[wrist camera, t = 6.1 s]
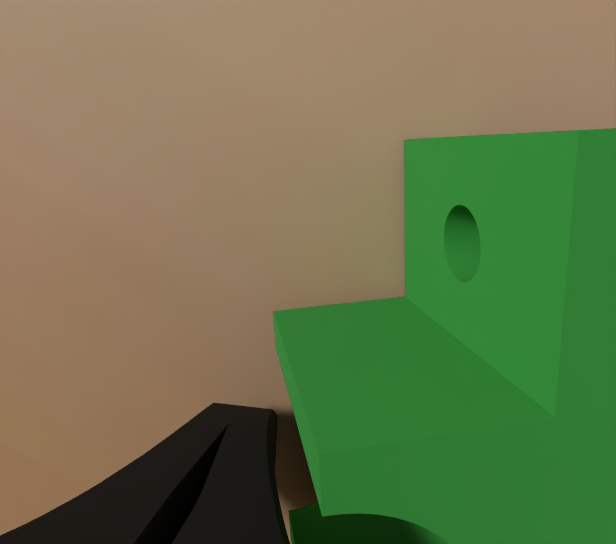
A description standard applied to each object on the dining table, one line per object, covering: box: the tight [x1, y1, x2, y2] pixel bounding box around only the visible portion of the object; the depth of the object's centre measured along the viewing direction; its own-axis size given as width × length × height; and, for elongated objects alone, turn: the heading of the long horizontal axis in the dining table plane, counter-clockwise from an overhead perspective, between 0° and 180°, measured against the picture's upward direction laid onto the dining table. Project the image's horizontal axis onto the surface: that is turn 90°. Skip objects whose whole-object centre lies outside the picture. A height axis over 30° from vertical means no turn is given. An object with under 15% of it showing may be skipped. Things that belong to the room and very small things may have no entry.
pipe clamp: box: [273, 128, 616, 544], centre depth 8 cm, size 11×4×5 cm, turn 3°
